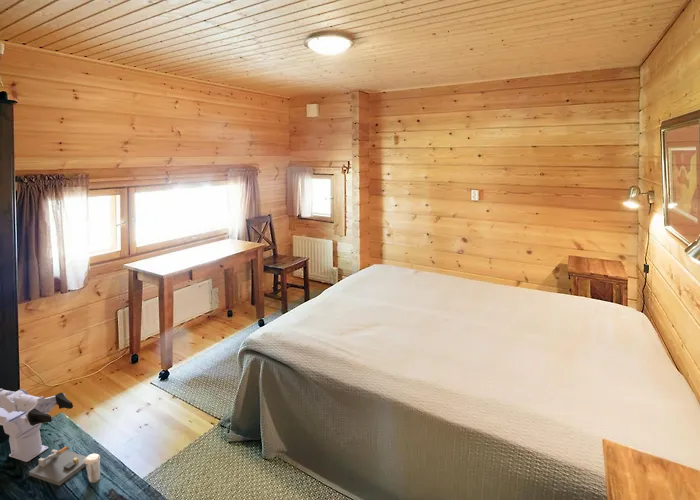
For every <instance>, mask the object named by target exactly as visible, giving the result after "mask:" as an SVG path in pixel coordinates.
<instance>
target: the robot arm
mask: <svg viewBox="0 0 700 500" xmlns="http://www.w3.org/2000/svg"><path fill="white" fill-rule="evenodd" d="M73 405H74V404H73V402H72V401H70V400H69V399H68V398H67V396H66V393H64V392H59V393H56V394H55V395H52V396H49V397H45V396H43V395H41V396H36V395H32V394H29V393H28V392H27V391H26V390H25V389H23V388H20V389H18V390H17V391H13V390H6V389H3V388H0V426H3V427H2V428H3V431H4V433H5V434H6V435H8V436H9V437H8V442H9V447H10V453H9V455H8V456H9V457H10V458H14V459H16V460H20V461H22V462H26V463H27V462H29V461H31V460H32V459H34V458H35V457H37V456H39V455H40V454H42V453H44V452H45V451H47V449H49V447H48V446H47V445H43V443H42V438H41V431H40V430H41V429H40V428H42V424H45V423H51V422H52V421H53V419H52V416H51V415H50V414H49V413H50V412H51V411H52V410H53V409H54V408H55V407H56V406H58V409H59V410H60V409H70V410H71V409H73V408H74V406H73Z"/></svg>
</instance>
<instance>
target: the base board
mask: <svg viewBox="0 0 700 500" xmlns="http://www.w3.org/2000/svg"><path fill="white" fill-rule="evenodd" d="M57 451H59V450H58V449H54V448H53V449H52V450H51V453H50V454H53V453H55V452H57ZM86 457H87V456H86V455H83V454H79V453H76V452H73V451H69V450H67V451H66V452H64V453H63V454H61V455H58V456H56V457H54V458H51V459H49V460H45V459H44V458H45V457H40V458H38V465H37V466H35V467H34V468H32V469H31V470H29V471H28V474H29V476H30V477H32V478H37V479H39V480H42V481H44V482H47V483H50V484H53V485H56V486H59V487H60V486H61V485H62V484H64V483H65V482H67V481H69V480H70V478H72V477H73V476H75V475H76V474H77V473H78V472H79V471H81V470H83V469H84V468H86V467H85V463H84V460H85V458H86Z"/></svg>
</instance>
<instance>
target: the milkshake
mask: <svg viewBox="0 0 700 500" xmlns="http://www.w3.org/2000/svg"><path fill="white" fill-rule="evenodd" d="M84 463H85V467H84V468H86V473H87V477H88V481H89V483H91V484H93V483H96V482H99V481H100V480H101V455H100V454H98V453H90V454H89V455H87V456H86V458H85V460H84Z"/></svg>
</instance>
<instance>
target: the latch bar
mask: <svg viewBox="0 0 700 500" xmlns="http://www.w3.org/2000/svg"><path fill="white" fill-rule="evenodd" d="M69 450H70V448H69V446H68V445H67V446H64V447H63V448H61V449H59V450H58V451H57V452H55V453H53V454H52V453H50V454H49V455H47V456H46V457H43V458H44V459H45V460H49V459H51V458H54V457H56V456H58V455H61V454H63V453H64V452H66V451H69Z"/></svg>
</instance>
